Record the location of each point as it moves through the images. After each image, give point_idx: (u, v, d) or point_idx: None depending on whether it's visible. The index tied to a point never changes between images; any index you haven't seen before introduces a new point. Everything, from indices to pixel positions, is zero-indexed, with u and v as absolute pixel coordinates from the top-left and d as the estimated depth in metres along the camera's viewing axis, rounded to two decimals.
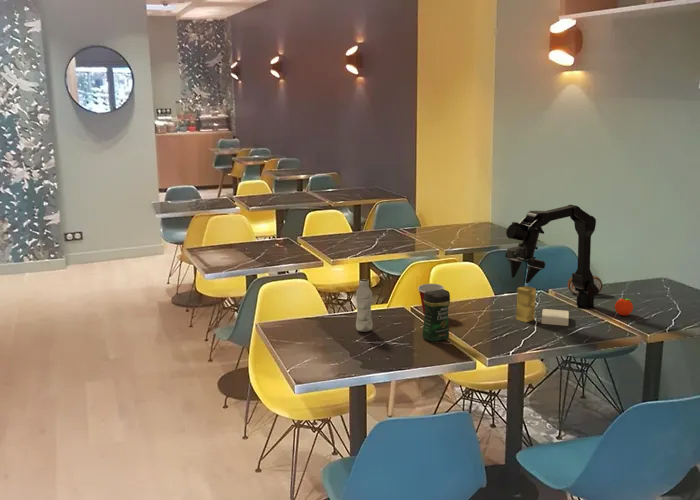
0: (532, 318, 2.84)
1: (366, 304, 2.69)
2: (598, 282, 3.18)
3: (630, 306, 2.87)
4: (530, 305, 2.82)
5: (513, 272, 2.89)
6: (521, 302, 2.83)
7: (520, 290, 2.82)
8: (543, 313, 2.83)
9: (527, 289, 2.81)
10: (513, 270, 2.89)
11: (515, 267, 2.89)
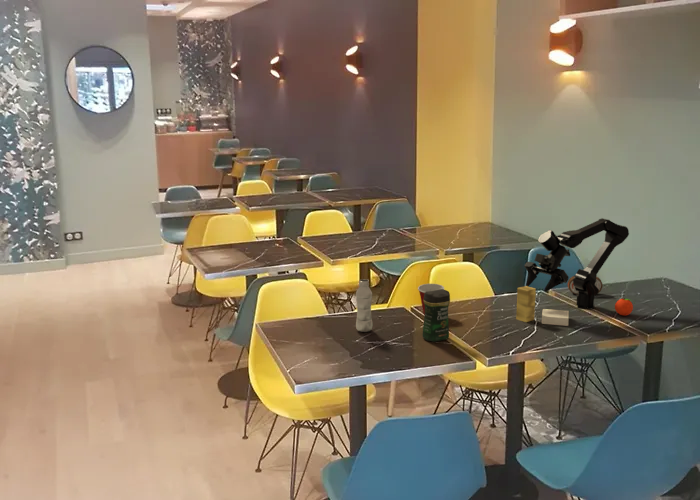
0: (532, 318, 2.84)
1: (366, 304, 2.69)
2: (598, 282, 3.18)
3: (630, 306, 2.87)
4: (530, 305, 2.82)
5: (529, 281, 2.90)
6: (521, 302, 2.83)
7: (520, 290, 2.82)
8: (543, 313, 2.83)
9: (527, 289, 2.81)
10: (529, 279, 2.90)
11: (531, 278, 2.91)
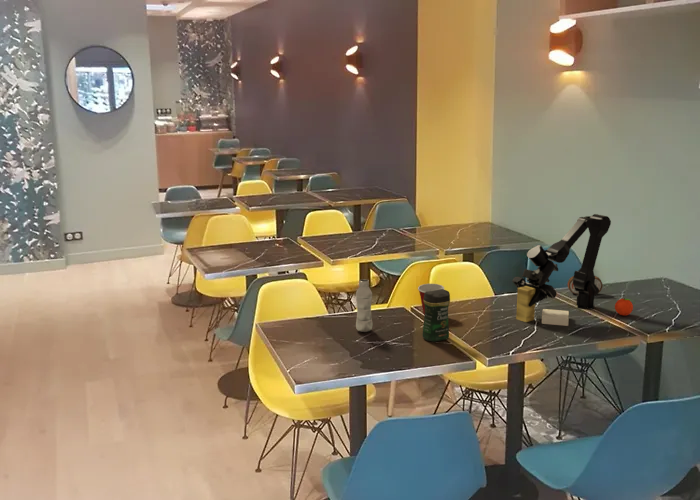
0: (532, 318, 2.84)
1: (366, 304, 2.69)
2: (598, 282, 3.18)
3: (630, 306, 2.87)
4: None
5: None
6: (521, 302, 2.83)
7: (520, 290, 2.82)
8: (543, 313, 2.83)
9: (527, 289, 2.81)
10: None
11: None
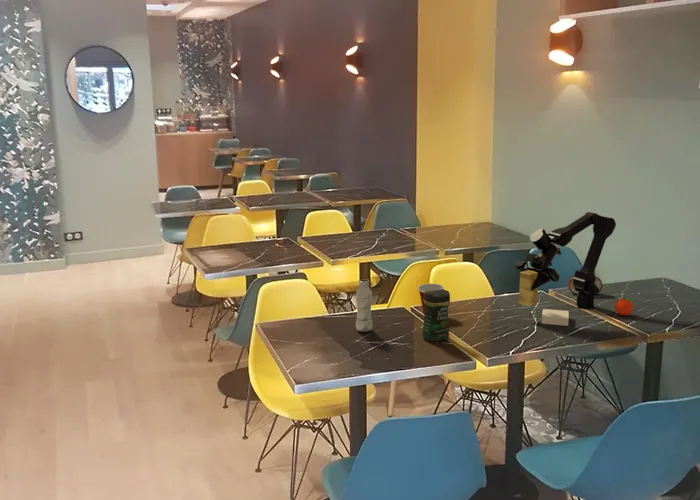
0: (535, 302, 2.83)
1: (366, 304, 2.69)
2: (598, 282, 3.18)
3: (630, 306, 2.87)
4: None
5: None
6: (523, 286, 2.81)
7: (523, 274, 2.81)
8: (543, 313, 2.83)
9: (530, 273, 2.80)
10: None
11: None
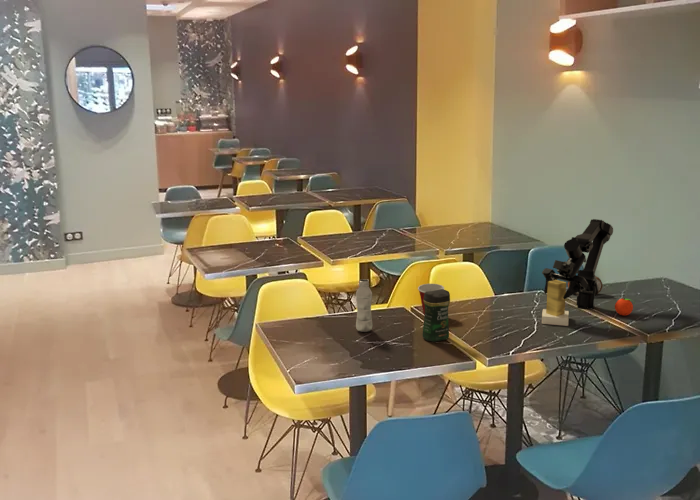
0: (562, 312, 2.82)
1: (366, 304, 2.69)
2: (598, 282, 3.18)
3: (630, 306, 2.87)
4: (561, 299, 2.80)
5: (547, 288, 2.85)
6: (551, 295, 2.80)
7: (550, 284, 2.80)
8: (543, 313, 2.83)
9: (558, 283, 2.79)
10: (547, 286, 2.85)
11: None
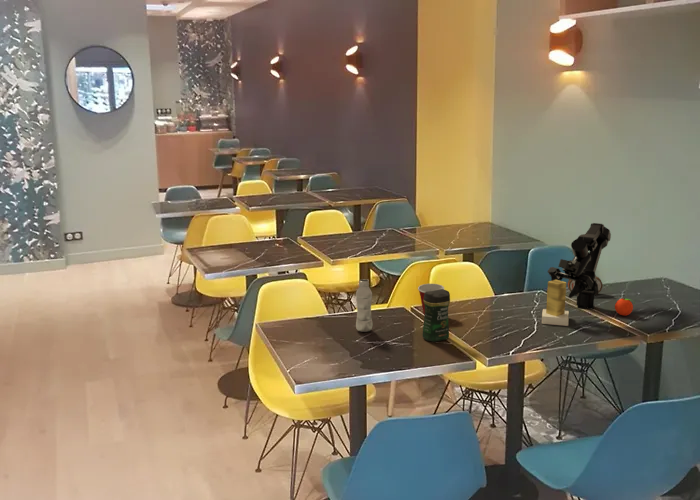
0: (562, 312, 2.82)
1: (366, 304, 2.69)
2: (598, 282, 3.18)
3: (630, 306, 2.87)
4: (561, 299, 2.80)
5: None
6: (551, 295, 2.80)
7: (550, 284, 2.80)
8: (543, 313, 2.83)
9: (558, 283, 2.79)
10: None
11: None
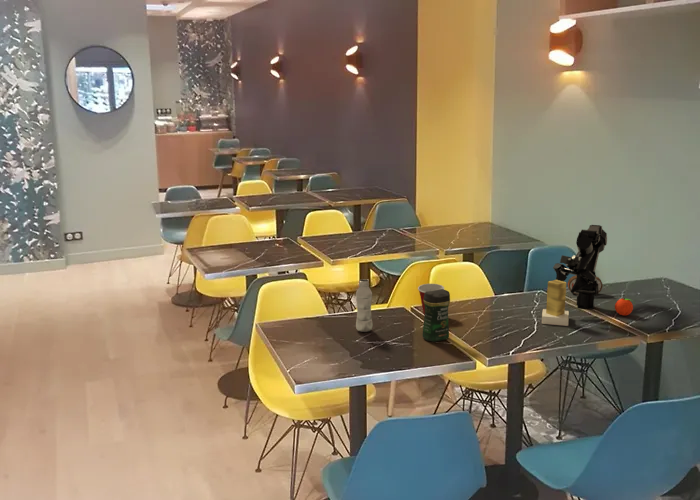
0: (562, 312, 2.82)
1: (366, 304, 2.69)
2: (598, 282, 3.18)
3: (630, 306, 2.87)
4: (561, 299, 2.80)
5: None
6: (551, 295, 2.80)
7: (550, 284, 2.80)
8: (543, 313, 2.83)
9: (558, 283, 2.79)
10: None
11: (560, 279, 2.92)
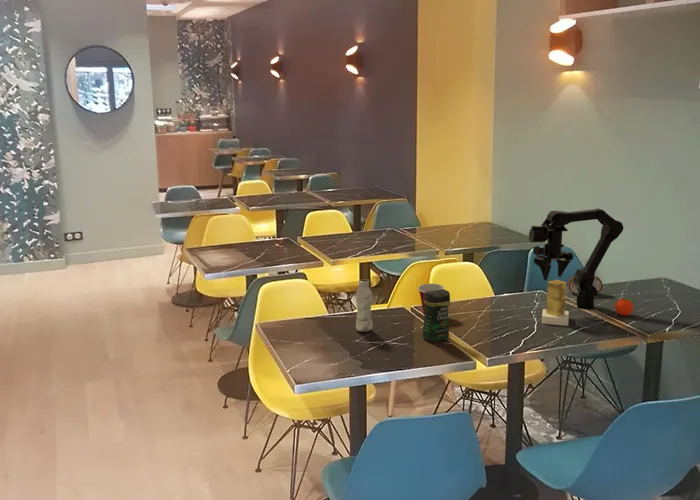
0: (562, 312, 2.82)
1: (366, 304, 2.69)
2: (598, 282, 3.18)
3: (630, 306, 2.87)
4: (561, 299, 2.80)
5: (558, 271, 3.00)
6: (551, 295, 2.80)
7: (550, 284, 2.80)
8: (543, 313, 2.83)
9: (558, 283, 2.79)
10: (558, 269, 3.00)
11: (560, 266, 2.99)
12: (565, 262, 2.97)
